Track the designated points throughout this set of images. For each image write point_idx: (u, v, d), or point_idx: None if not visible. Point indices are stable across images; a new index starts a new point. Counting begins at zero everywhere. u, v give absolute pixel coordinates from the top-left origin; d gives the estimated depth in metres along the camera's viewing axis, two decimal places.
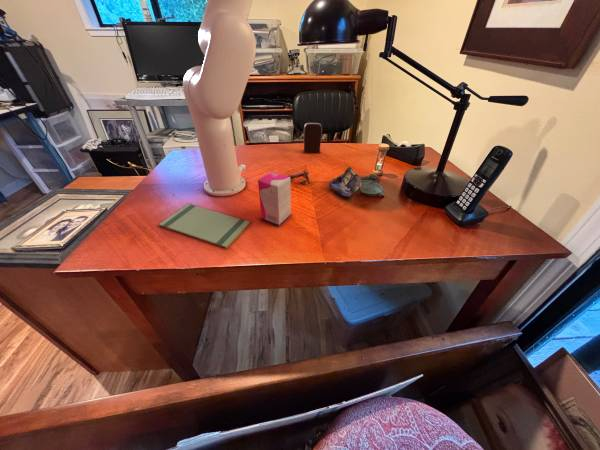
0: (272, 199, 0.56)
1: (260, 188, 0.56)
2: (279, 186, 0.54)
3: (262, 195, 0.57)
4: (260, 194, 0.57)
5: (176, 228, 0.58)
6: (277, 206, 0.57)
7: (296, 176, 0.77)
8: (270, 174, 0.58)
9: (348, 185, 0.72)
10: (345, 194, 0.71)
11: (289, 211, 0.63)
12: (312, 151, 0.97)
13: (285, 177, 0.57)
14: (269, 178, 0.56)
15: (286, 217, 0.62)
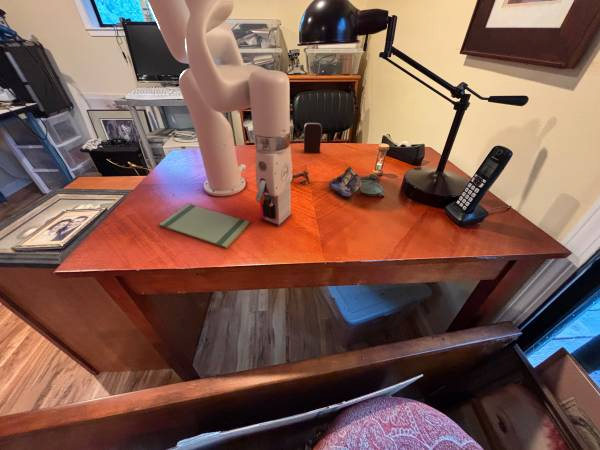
0: None
1: None
2: None
3: None
4: None
5: (176, 228, 0.58)
6: (277, 206, 0.57)
7: (296, 176, 0.77)
8: None
9: (348, 185, 0.72)
10: (345, 194, 0.71)
11: (289, 211, 0.63)
12: (312, 151, 0.97)
13: None
14: None
15: (286, 217, 0.62)
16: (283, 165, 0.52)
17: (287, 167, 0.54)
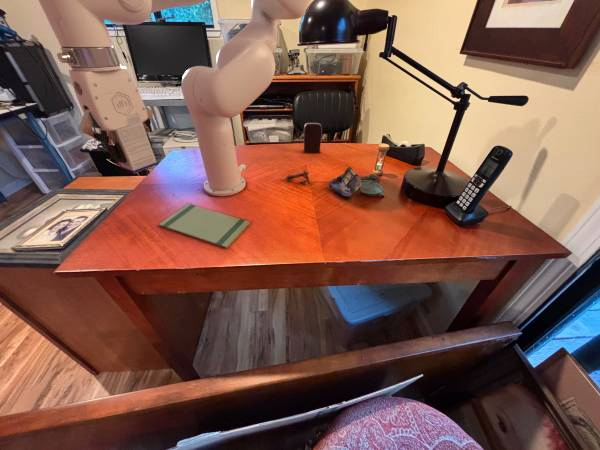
0: (115, 138, 0.49)
1: None
2: None
3: None
4: None
5: (176, 228, 0.58)
6: (122, 146, 0.49)
7: (296, 176, 0.77)
8: None
9: (348, 185, 0.72)
10: (345, 194, 0.71)
11: (153, 158, 0.55)
12: (312, 151, 0.97)
13: None
14: None
15: (147, 164, 0.54)
16: (114, 92, 0.45)
17: (127, 97, 0.47)
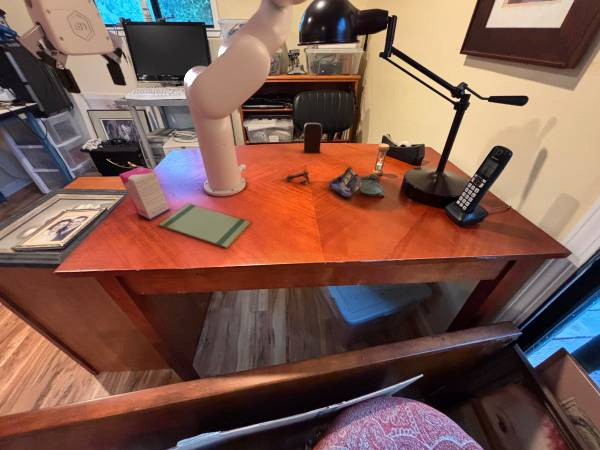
0: (135, 194, 0.57)
1: (123, 182, 0.57)
2: (135, 180, 0.55)
3: (127, 189, 0.58)
4: (126, 188, 0.58)
5: (176, 228, 0.58)
6: (141, 200, 0.57)
7: (296, 176, 0.77)
8: (136, 169, 0.59)
9: (348, 185, 0.72)
10: (345, 194, 0.71)
11: (166, 206, 0.64)
12: (312, 151, 0.97)
13: (149, 172, 0.58)
14: (132, 173, 0.57)
15: (161, 212, 0.63)
16: (70, 9, 0.41)
17: (86, 20, 0.43)
